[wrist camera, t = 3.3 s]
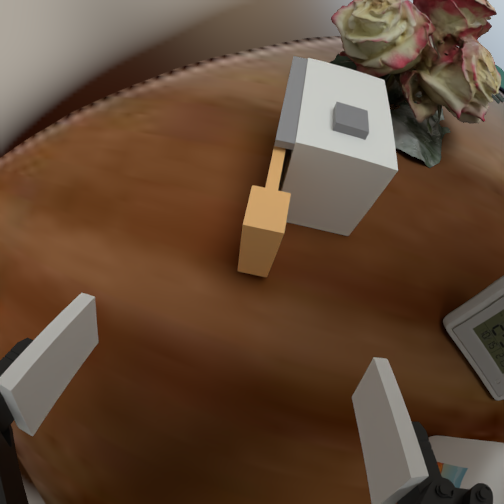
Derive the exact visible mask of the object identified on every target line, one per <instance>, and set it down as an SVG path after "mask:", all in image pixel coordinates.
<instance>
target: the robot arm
mask: <svg viewBox="0 0 504 504" xmlns="http://www.w3.org/2000/svg"><path fill="white" fill-rule="evenodd" d="M98 342H99V341H98V331H97V319H96V305H95V297H94V296H91V295H88V294H84V293H81V294H80V295H79V296H78V297H77V298H76V299H75V300H73V301H72V302H71V303H70V304H69V305H68V306H67V307H66V308H65V309H64V310H63V311H62V312H61V313H60V314H59V315H58V316H57V317H56V318H55V319H54V320H53V321H52V322H51V323H50V324H49V325H48V326H47V327H46V328H45V329H44V330H43V331H42V332H41V333H40V334H39V335H38V336H37V337H36V338H35V340H34V341H33V340H31V339H29V338H26V339H24V340H22V341H20V342H18V343H17V344H16V345H15V346H14V347H13V348H12V349H11V351H9V352H8V353H7V354H6V355H5V357H3V358H2V359H1V361H0V504H28V500H27V496H26V493H25V489H24V486H23V482H22V477H21V473H20V469H19V464H18V459H17V454H16V449H15V443H14V437H13V431H12V427H11V423H12V422H13V420H15V422H16V424H17V426H18V428H20V429H21V430H23V431H25V432H26V433H28V434H30V435H31V436H34V434H35V432H36V431H37V429H38V428H39V426H40V425H41V423H42V422H43V420H44V419H45V417H46V416H47V414H48V413H49V411H50V410H51V408H52V407H53V405H54V404H55V402H56V401H57V399H58V398H59V396H60V395H61V394H62V392H63V391H64V389H65V388H66V386H67V385H68V384H69V382H70V381H71V379H72V378H73V377H74V375H75V374H76V372H77V371H78V370H79V368H80V367H81V365H82V364H83V363H84V361H85V360H86V359H87V357H88V356H89V354H90V353H91V352H92V350H93V349H94V348H95V346H96V345H97V344H98ZM352 401H353V406H354V410H355V415H356V420H357V425H358V430H359V435H360V440H361V445H362V450H363V455H364V461H365V466H366V472H367V478H368V484H369V490H370V496H371V502H372V504H395V503H398V504H493V492H492V490H491V488H490V487H489V486H488V485H486V484H484V483H478V484H476V485H474V486H473V487H472V488H470V489H463V488H456V487H455V486H454V484H453V483H452V482H451V481H450V480H449V479H446V478H443V477H442V476H441V473H440V470H439V467H438V464H437V461H436V458H435V455H434V452H433V449H431V448H432V446H431V444H430V442H429V438H428V435H427V433H426V430H425V429H424V428H423V426H422V425H421V424H420V423H419V422H411V420H410V417H409V414H408V411H407V408H406V406H405V403H404V400H403V398H402V395H401V392H400V390H399V387H398V384H397V382H396V379H395V377H394V374H393V372H392V369H391V366H390V364H389V362H388V359H385V358H376V357H373V359H372V361H371V363H370V365H369V367H368V369H367V370H366V372H365V374H364V376H363V378H362V380H361V381H360V383H359V385H358V387H357V388H356V390H355V392H354V394H353V395H352Z"/></svg>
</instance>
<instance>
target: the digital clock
mask: <svg viewBox="0 0 504 504" xmlns="http://www.w3.org/2000/svg"><path fill="white" fill-rule="evenodd" d="M443 325H444V327H445V329H446V330H447V332H448V333H449V335H450V336H451V338H452V339H453V341H454V342H455V343H456V345H457V346H458V347H459V349H460V350H461V351H462V353H463V354H464V356H465V357H466V358H467V360H468V361H469V363H470V364H471V366H472V367H473V368H474V370H475V371H476V373H477V374H478V376H479V377H480V379H481V380H482V382H483V383H484V385H485V386H486V388H487V389H488V390H489V392H490V393H491V395H492V396H493V398H494V399H495V400H502V399H504V276H502V277H501V278H499V279H498V280H496V281H495V282H494V283H492V284H491V285H489V286H488V287H487V288H485V289H484V290H483V291H481V292H480V293H478V294H477V295H475V296H474V297H473V298H471V299H470V300H468V301H467V302H465V303H464V304H462V305H461V306H459V307H458V308H456V309H455V310H453V311H452V312H450V313H449V314H448V315H446V316H445V318H444V319H443Z"/></svg>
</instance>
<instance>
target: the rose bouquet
mask: <svg viewBox="0 0 504 504" xmlns="http://www.w3.org/2000/svg"><path fill="white" fill-rule="evenodd" d="M492 15H496V11H495V9H494V8H493V7H492V6H491V5H490V4H489V2H488V1H487V0H413V3H411V2H410V1H409V0H353V1H352V2H351V3H350V4H349V5H348V6H342V7H341V8H340V9H338V10H337V12H336V13H335V14H334V15H333V16H332V17H331V20H332V22H333V23H334V24H335V25H336V27H337V28H338V30H339V32H340V34H341V40H342V43H343V48H344V50H345V51H342V52H340V54H338V55H337V56H336V58H335V60H333V61H331V62H330V63H331V64H335V65H338V66H342V67H345V68H349V69H352V70H355V71H359V72H362V73H365V74H368V75H371V76H374V77H377V78H380V79H383V80H385V85H386V90H387V96H388V101H389V106H390V104H394V105H397V106H398V105H400V106H401V107H400V108H399V109H396V110H390V113H391V119H392V126H393V133H394V140H395V148H397V149H400V150H402V151H404V152H406V153H408V154H409V155H411V156H413V157H416V158H418V159H421V160H422V161H424V162H425V164H426V165H427V166H428V167H429V168H431V167H432V166H434V165H435V164H437V163H439V162H440V159H441V144H442V138H443V136H444V135H445V133H449V132H450V131H449V130H450V129H448V128H447V127H441V126H440V124H439V122H440V120H444V117H443V109H442V106H445V107H446V109H447V110H448V111H449V112H451V113H452V114H453V116H454V117H456V118H457V119H458V120H459V121H461V122H463V123H464V122H468V123H480V121H481V120H482V121H483V122H484V121H485V119H484V115H486V112H487V110H488V109H489V105H487V104H488V102H492V101H493V99H492V93H493V94H494V95H496V94H498V93H499V92H498V90H499V87H500V86H501V75H500V74H499V72H498V71H497V69H496V67H495V62H494V60H493V57H492V55H491V54H490V52H489V51H488V50H487V49H486V48H485V47H483V46H482V45H481V44H480V43H479V42H478V41H477V39H478V38H479V37H480V36H481V35H483V34H485V33H486V32H488V31H489V29H490V28H491V27H492V26H491V25H490V23H488V22H487V20H490V19H491V17H490V16H492ZM457 46H459V48H458V47H457ZM413 100H414V101H415V102H413ZM405 101H406V102H405Z"/></svg>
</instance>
